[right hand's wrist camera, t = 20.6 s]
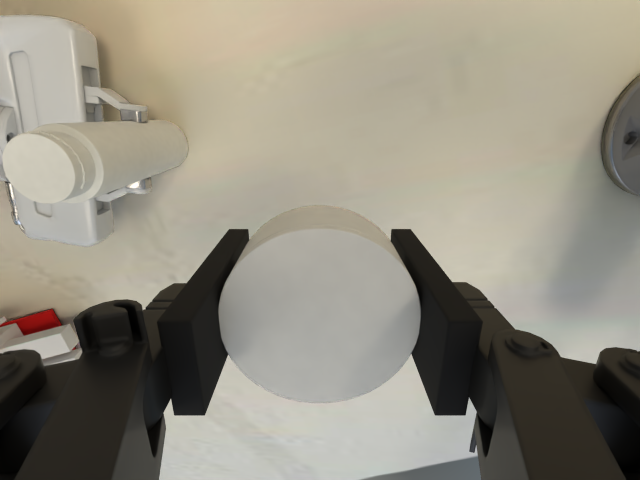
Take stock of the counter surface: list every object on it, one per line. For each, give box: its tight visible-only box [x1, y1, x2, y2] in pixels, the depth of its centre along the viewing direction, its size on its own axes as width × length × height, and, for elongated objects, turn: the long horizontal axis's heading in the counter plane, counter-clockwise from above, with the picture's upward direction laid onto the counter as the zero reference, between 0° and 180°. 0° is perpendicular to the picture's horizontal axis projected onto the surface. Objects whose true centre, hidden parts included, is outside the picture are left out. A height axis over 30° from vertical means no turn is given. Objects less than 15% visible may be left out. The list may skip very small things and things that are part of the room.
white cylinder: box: [218, 205, 421, 403], centre depth 11 cm, size 6×6×2 cm
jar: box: [2, 120, 188, 204], centre depth 30 cm, size 5×5×19 cm
